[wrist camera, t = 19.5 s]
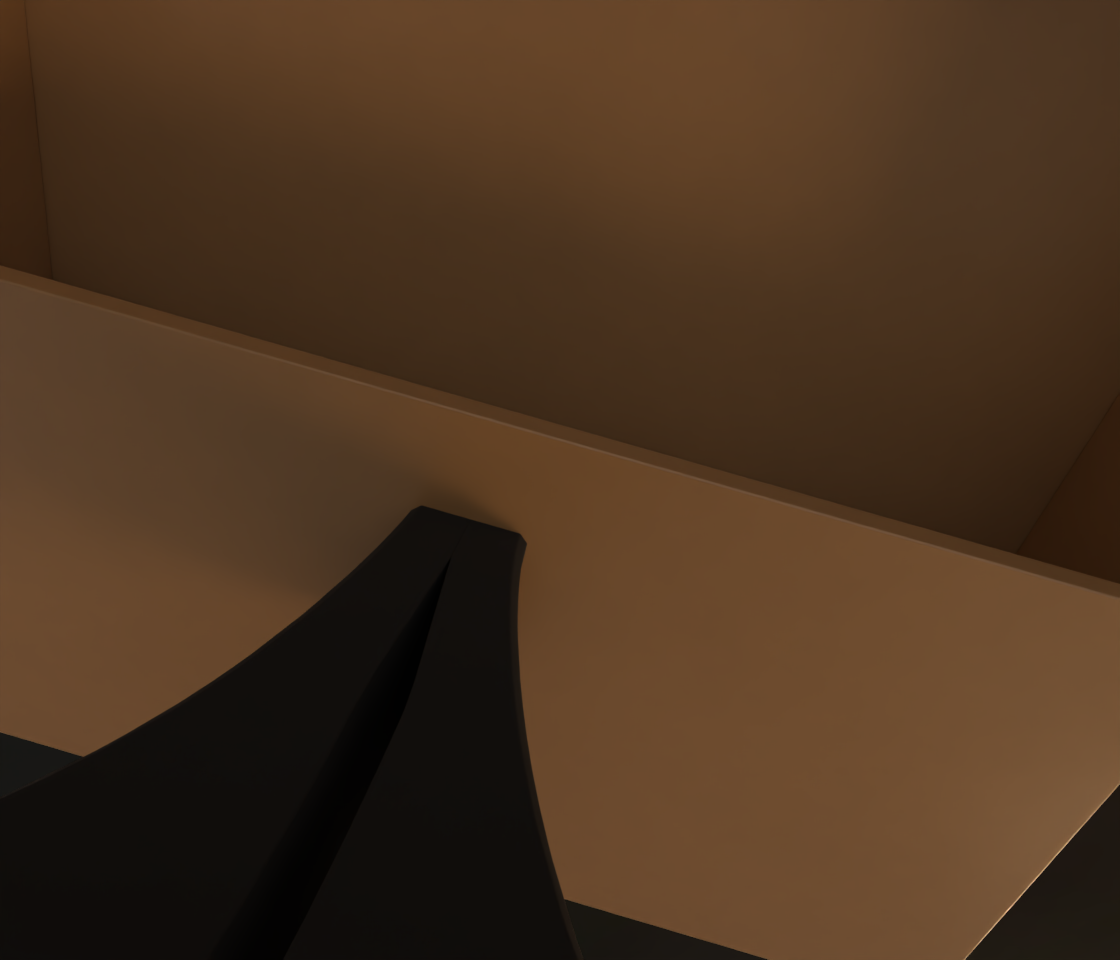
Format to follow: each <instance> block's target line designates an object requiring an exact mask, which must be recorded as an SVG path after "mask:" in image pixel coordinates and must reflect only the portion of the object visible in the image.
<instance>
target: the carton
mask: <svg viewBox="0 0 1120 960" xmlns="http://www.w3.org/2000/svg"><path fill="white" fill-rule="evenodd" d="M0 265H1V266H5V267H8V268H12V269H15V270H19V271H22V272H26V273H29V274H33V275H36V276H40V277H43V278H47V279H50V280H54V281H57V282H61V283H64V284H68V285H71V286H75V287H78V288H82V289H85V290H89V291H93V292H96V293H100V294H103V295H107V296H110V297H114V298H117V299H121V300H124V301H128V302H131V303H135V304H138V305H142V306H145V307H149V308H152V309H156V310H159V311H163V312H166V313H170V314H173V315H177V316H180V317H184V318H187V319H191V320H194V321H198V322H201V323H205V324H208V325H212V326H215V327H219V328H223V329H226V330H230V331H233V332H237V333H240V334H244V335H247V336H251V337H254V338H258V339H261V340H265V341H268V342H272V343H275V344H279V345H282V346H286V347H289V348H293V349H296V350H300V351H303V352H307V353H310V354H314V355H317V356H321V357H324V358H328V359H331V360H335V361H338V362H342V363H345V364H349V365H353V366H356V367H360V368H363V369H367V370H370V371H374V372H377V373H381V374H384V375H388V376H391V377H395V378H398V379H402V380H405V381H409V382H412V383H416V384H419V385H423V386H426V387H430V388H433V389H437V390H440V391H444V392H447V393H451V394H454V395H458V396H461V397H465V398H468V399H472V400H475V401H479V402H483V403H486V404H490V405H493V406H497V407H500V408H504V409H507V410H511V411H514V412H518V413H521V414H525V415H528V416H532V417H535V418H539V419H542V420H546V421H549V422H553V423H556V424H560V425H563V426H567V427H570V428H574V429H577V430H581V431H584V432H588V433H591V434H595V435H598V436H602V437H605V438H609V439H613V440H616V441H620V442H623V443H627V444H630V445H634V446H637V447H641V448H644V449H648V450H651V451H655V452H658V453H662V454H665V455H669V456H672V457H676V458H679V459H683V460H686V461H690V462H693V463H697V464H700V465H704V466H707V467H711V468H714V469H718V470H721V471H725V472H728V473H732V474H736V475H739V476H743V477H746V478H750V479H753V480H757V481H760V482H764V483H767V484H771V485H774V486H778V487H781V488H785V489H788V490H792V491H795V492H799V493H802V494H806V495H809V496H813V497H816V498H820V499H823V500H827V501H830V502H834V503H837V504H841V505H844V506H848V507H851V508H855V509H858V510H862V511H866V512H869V513H873V514H876V515H880V516H883V517H887V518H890V519H894V520H897V521H901V522H904V523H908V524H911V525H915V526H918V527H922V528H925V529H929V530H932V531H936V532H939V533H943V534H946V535H950V536H953V537H957V538H960V539H964V540H967V541H971V542H974V543H978V544H981V545H985V546H988V547H992V548H996V549H999V550H1003V551H1006V552H1010V553H1013V554H1017V555H1020V556H1024V557H1027V558H1031V559H1034V560H1038V561H1041V562H1045V563H1048V564H1052V565H1055V566H1059V567H1062V568H1066V569H1069V570H1073V571H1076V572H1080V573H1083V574H1087V575H1090V576H1094V577H1097V578H1101V579H1104V580H1108V581H1111V582H1115V583H1118V584H1120V0H0Z"/></svg>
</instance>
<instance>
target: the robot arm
mask: <svg viewBox="0 0 1120 960" xmlns="http://www.w3.org/2000/svg"><path fill="white" fill-rule="evenodd" d="M526 547H527V543H526V541H525V540H524V538H523V537H522V535H521V534H520V533H516V532H513V531H509V530H506V529H503V528H499V527H496V526H492V525H489V524H485V523H482V522H478V521H475V520H471V519H468V518H464V517H461V516H457V515H454V514H450V513H447V512H443V511H440V510H436V509H433V508H429V507H426V506H422V505H421V506H419V507H417V508H415V509H412V510H411V511H410V512H409V513H408V514H407V516H406V517H405V518H404V519H403V520H402V521H401V523H400V524H399V525H398V526H397V527H396V528H395V529H394V530H393V531H392V532H391V533H390V534H389V535H388V536H387V537H386V539H385V540H384V541H383V542H382V543H381V544H380V545H379V546H378V547H377V548H376V549H375V550H374V551H373V552H372V553H371V554H369V555H368V556H367V557H366V558H365V559H364V560H363V561H362V562H361V563H360V564H359V565H358V566H357V567H356V568H355V569H354V570H353V571H352V572H351V573H349V574H348V575H347V576H346V577H345V578H344V579H343V580H341V581H340V582H339V583H338V584H337V585H336V586H335V587H333V588H332V589H331V590H330V591H329V592H328V593H327V594H326V595H324V596H323V597H322V598H321V599H320V600H319V601H318V602H316V603H315V604H314V605H313V606H312V607H311V608H309V609H308V610H307V611H306V612H305V613H303V614H302V615H301V616H300V617H298V618H297V619H296V620H295V621H293V622H292V623H291V624H289V625H288V626H287V627H286V628H284V629H283V630H282V631H280V632H279V633H278V634H276V635H275V636H274V637H273V638H271V639H270V640H269V641H267V642H266V643H265V644H264V645H262V646H261V647H260V648H258V649H257V650H256V651H255V652H253V653H252V654H250V655H249V656H248V657H246V658H245V659H244V660H242V661H241V662H239V663H238V664H236V665H235V666H234V667H232V668H231V669H229V670H228V671H227V672H225V673H224V674H222V675H221V676H219V677H218V678H216V679H215V680H213V681H212V682H210V683H209V684H207V685H206V686H204V687H203V688H201V689H200V690H198V691H196V692H195V693H193V694H192V695H190V696H189V697H187V698H186V699H184V700H182V701H181V702H179V703H178V704H176V705H174V706H173V707H171V708H169V709H168V710H166V711H164V712H163V713H161V714H159V715H157V716H156V717H154V718H152V719H151V720H149V721H147V722H146V723H144V724H142V725H140V726H139V727H137V728H135V729H134V730H132V731H130V732H129V733H127V734H125V735H123V736H121V737H120V738H118V739H116V740H114V741H112V742H111V743H109V744H107V745H105V746H103V747H101V748H99V749H98V750H96V751H94V752H92V753H90V754H88V755H86V756H84V757H82V758H80V759H78V760H76V761H74V762H72V763H70V764H68V765H66V766H64V767H62V768H60V769H57V770H55V771H53V772H51V773H49V774H47V775H45V776H43V777H41V778H39V779H37V780H35V781H33V782H31V783H29V784H27V785H25V786H23V787H21V788H19V789H17V790H14V791H12V792H10V793H8V794H6V795H4V796H2V797H0V960H584V959H583V956H582V954H581V951H580V948H579V945H578V942H577V939H576V936H575V933H574V930H573V926H572V923H571V920H570V917H569V913H568V910H567V907H566V903H565V900H564V897H563V893H562V890H561V887H560V883H559V880H558V877H557V873H556V870H555V867H554V863H553V860H552V856H551V852H550V848H549V844H548V840H547V836H546V832H545V827H544V823H543V819H542V815H541V810H540V806H539V801H538V796H537V791H536V786H535V781H534V776H533V771H532V765H531V760H530V753H529V747H528V741H527V733H526V726H525V718H524V710H523V702H522V692H521V682H520V665H519V647H518V596H519V583H520V574H521V567H522V563H523V559H524V555H525V551H526Z"/></svg>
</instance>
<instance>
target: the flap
mask: <svg viewBox="0 0 1120 960" xmlns="http://www.w3.org/2000/svg"><path fill="white" fill-rule="evenodd" d="M421 505H422V506H426V507H429V508H433V509H436V510H440V511H443V512H447V513H450V514H454V515H457V516H461V517H464V518H468V519H471V520H475V521H478V522H482V523H485V524H489V525H492V526H496V527H499V528H503V529H506V530H509V531H513V532H516V533H520V534H521V535H522V537H523V538H524V540H525V541H526V543H527V547H526V551H525V555H524V559H523V563H522V567H521V574H520V583H519V596H518V647H519V665H520V682H521V692H522V702H523V710H524V718H525V726H526V733H527V741H528V747H529V753H530V760H531V765H532V771H533V776H534V781H535V786H536V791H537V796H538V801H539V806H540V810H541V815H542V819H543V823H544V827H545V832H546V836H547V840H548V844H549V848H550V852H551V856H552V860H553V863H554V867H555V870H556V873H557V877H558V880H559V883H560V887H561V890H562V893H563V897H564V899H567V900H570V901H573V902H577V903H580V904H583V905H587V906H590V907H594V908H597V909H600V910H604V911H607V912H610V913H614V914H617V915H621V916H624V917H627V918H631V919H634V920H638V921H641V922H644V923H648V924H651V925H654V926H658V927H661V928H665V929H668V930H671V931H675V932H678V933H681V934H685V935H688V936H692V937H695V938H698V939H702V940H705V941H708V942H712V943H715V944H719V945H722V946H725V947H729V948H732V949H736V950H739V951H742V952H746V953H749V954H752V955H756V956H759V957H763V958H766V959H769V960H965V959H966V958H967V957H968V955H969V954H970V953H971V952H972V951H973V950H974V949H975V947H976V946H977V945H978V944H979V943H980V942H981V941H982V940H983V938H984V937H985V936H986V935H987V934H988V933H989V932H990V930H991V929H992V928H993V927H994V926H995V925H996V924H997V923H998V921H999V920H1000V919H1001V918H1002V917H1003V916H1004V915H1005V914H1006V912H1007V911H1008V910H1009V909H1010V908H1011V907H1012V906H1013V904H1014V903H1015V902H1016V901H1017V900H1018V899H1019V898H1020V897H1021V895H1022V894H1023V893H1024V892H1025V891H1026V890H1027V889H1028V888H1029V886H1030V885H1031V884H1032V883H1033V882H1034V881H1035V880H1036V878H1037V877H1038V876H1039V875H1040V874H1041V873H1042V872H1043V871H1044V869H1045V868H1046V867H1047V866H1048V865H1049V864H1050V863H1051V861H1052V860H1053V859H1054V858H1055V857H1056V856H1057V855H1058V854H1059V852H1060V851H1061V850H1062V849H1063V848H1064V847H1065V846H1066V845H1067V843H1068V842H1069V841H1070V840H1071V839H1072V838H1073V837H1074V835H1075V834H1076V833H1077V832H1078V831H1079V830H1080V829H1081V828H1082V826H1083V825H1084V824H1085V823H1086V822H1087V821H1088V820H1089V819H1090V817H1091V816H1092V815H1093V814H1094V813H1095V812H1096V811H1097V809H1098V808H1099V807H1100V806H1101V805H1102V804H1103V803H1104V802H1105V800H1106V799H1107V798H1108V797H1109V796H1110V795H1111V794H1112V792H1113V791H1114V790H1115V789H1116V788H1117V787H1118V786H1119V785H1120V584H1118V583H1115V582H1111V581H1108V580H1104V579H1101V578H1097V577H1094V576H1090V575H1087V574H1083V573H1080V572H1076V571H1073V570H1069V569H1066V568H1062V567H1059V566H1055V565H1052V564H1048V563H1045V562H1041V561H1038V560H1034V559H1031V558H1027V557H1024V556H1020V555H1017V554H1013V553H1010V552H1006V551H1003V550H999V549H996V548H992V547H988V546H985V545H981V544H978V543H974V542H971V541H967V540H964V539H960V538H957V537H953V536H950V535H946V534H943V533H939V532H936V531H932V530H929V529H925V528H922V527H918V526H915V525H911V524H908V523H904V522H901V521H897V520H894V519H890V518H887V517H883V516H880V515H876V514H873V513H869V512H866V511H862V510H858V509H855V508H851V507H848V506H844V505H841V504H837V503H834V502H830V501H827V500H823V499H820V498H816V497H813V496H809V495H806V494H802V493H799V492H795V491H792V490H788V489H785V488H781V487H778V486H774V485H771V484H767V483H764V482H760V481H757V480H753V479H750V478H746V477H743V476H739V475H736V474H732V473H728V472H725V471H721V470H718V469H714V468H711V467H707V466H704V465H700V464H697V463H693V462H690V461H686V460H683V459H679V458H676V457H672V456H669V455H665V454H662V453H658V452H655V451H651V450H648V449H644V448H641V447H637V446H634V445H630V444H627V443H623V442H620V441H616V440H613V439H609V438H605V437H602V436H598V435H595V434H591V433H588V432H584V431H581V430H577V429H574V428H570V427H567V426H563V425H560V424H556V423H553V422H549V421H546V420H542V419H539V418H535V417H532V416H528V415H525V414H521V413H518V412H514V411H511V410H507V409H504V408H500V407H497V406H493V405H490V404H486V403H483V402H479V401H475V400H472V399H468V398H465V397H461V396H458V395H454V394H451V393H447V392H444V391H440V390H437V389H433V388H430V387H426V386H423V385H419V384H416V383H412V382H409V381H405V380H402V379H398V378H395V377H391V376H388V375H384V374H381V373H377V372H374V371H370V370H367V369H363V368H360V367H356V366H353V365H349V364H345V363H342V362H338V361H335V360H331V359H328V358H324V357H321V356H317V355H314V354H310V353H307V352H303V351H300V350H296V349H293V348H289V347H286V346H282V345H279V344H275V343H272V342H268V341H265V340H261V339H258V338H254V337H251V336H247V335H244V334H240V333H237V332H233V331H230V330H226V329H223V328H219V327H215V326H212V325H208V324H205V323H201V322H198V321H194V320H191V319H187V318H184V317H180V316H177V315H173V314H170V313H166V312H163V311H159V310H156V309H152V308H149V307H145V306H142V305H138V304H135V303H131V302H128V301H124V300H121V299H117V298H114V297H110V296H107V295H103V294H100V293H96V292H93V291H89V290H85V289H82V288H78V287H75V286H71V285H68V284H64V283H61V282H57V281H54V280H50V279H47V278H43V277H40V276H36V275H33V274H29V273H26V272H22V271H19V270H15V269H12V268H8V267H5V266H1V265H0V732H2V733H6V734H9V735H12V736H16V737H19V738H22V739H26V740H29V741H33V742H36V743H39V744H43V745H46V746H49V747H53V748H56V749H60V750H63V751H66V752H70V753H73V754H77V755H80V756H83V757H84V756H86V755H88V754H90V753H92V752H94V751H96V750H98V749H99V748H101V747H103V746H105V745H107V744H109V743H111V742H112V741H114V740H116V739H118V738H120V737H121V736H123V735H125V734H127V733H129V732H130V731H132V730H134V729H135V728H137V727H139V726H140V725H142V724H144V723H146V722H147V721H149V720H151V719H152V718H154V717H156V716H157V715H159V714H161V713H163V712H164V711H166V710H168V709H169V708H171V707H173V706H174V705H176V704H178V703H179V702H181V701H182V700H184V699H186V698H187V697H189V696H190V695H192V694H193V693H195V692H196V691H198V690H200V689H201V688H203V687H204V686H206V685H207V684H209V683H210V682H212V681H213V680H215V679H216V678H218V677H219V676H221V675H222V674H224V673H225V672H227V671H228V670H229V669H231V668H232V667H234V666H235V665H236V664H238V663H239V662H241V661H242V660H244V659H245V658H246V657H248V656H249V655H250V654H252V653H253V652H255V651H256V650H257V649H258V648H260V647H261V646H262V645H264V644H265V643H266V642H267V641H269V640H270V639H271V638H273V637H274V636H275V635H276V634H278V633H279V632H280V631H282V630H283V629H284V628H286V627H287V626H288V625H289V624H291V623H292V622H293V621H295V620H296V619H297V618H298V617H300V616H301V615H302V614H303V613H305V612H306V611H307V610H308V609H309V608H311V607H312V606H313V605H314V604H315V603H316V602H318V601H319V600H320V599H321V598H322V597H323V596H324V595H326V594H327V593H328V592H329V591H330V590H331V589H332V588H333V587H335V586H336V585H337V584H338V583H339V582H340V581H341V580H343V579H344V578H345V577H346V576H347V575H348V574H349V573H351V572H352V571H353V570H354V569H355V568H356V567H357V566H358V565H359V564H360V563H361V562H362V561H363V560H364V559H365V558H366V557H367V556H368V555H369V554H371V553H372V552H373V551H374V550H375V549H376V548H377V547H378V546H379V545H380V544H381V543H382V542H383V541H384V540H385V539H386V537H387V536H388V535H389V534H390V533H391V532H392V531H393V530H394V529H395V528H396V527H397V526H398V525H399V524H400V523H401V521H402V520H403V519H404V518H405V517H406V516H407V514H408V513H409V512H410V511H411V510H412V509H415V508H417V507H419V506H421Z"/></svg>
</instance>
